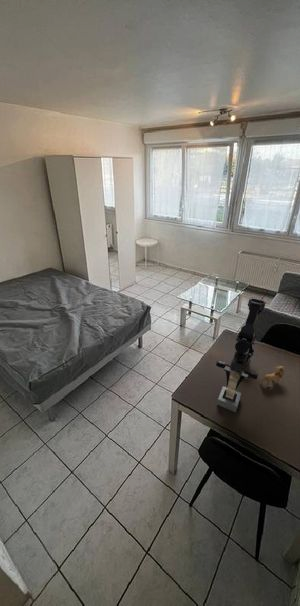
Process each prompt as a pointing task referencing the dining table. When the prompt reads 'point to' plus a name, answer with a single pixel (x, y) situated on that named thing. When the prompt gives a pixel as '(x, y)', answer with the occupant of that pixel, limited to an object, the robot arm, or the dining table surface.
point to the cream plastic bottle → (232, 385)
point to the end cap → (228, 400)
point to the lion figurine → (273, 376)
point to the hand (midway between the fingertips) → (231, 387)
